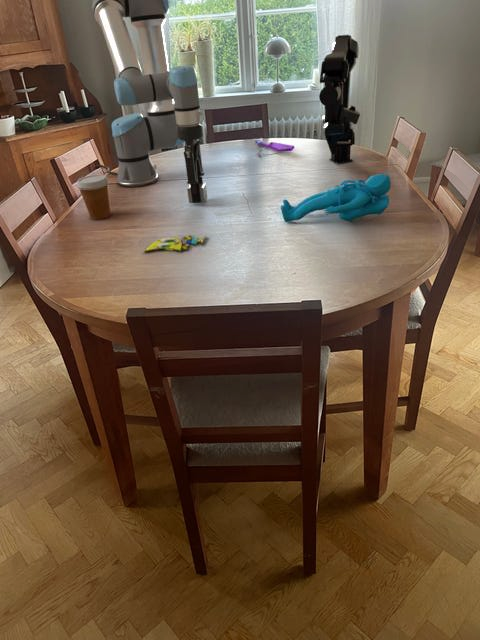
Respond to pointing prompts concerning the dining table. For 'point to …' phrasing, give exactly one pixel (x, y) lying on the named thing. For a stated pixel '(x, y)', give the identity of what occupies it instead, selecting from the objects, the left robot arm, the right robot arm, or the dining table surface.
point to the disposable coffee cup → (95, 195)
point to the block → (202, 193)
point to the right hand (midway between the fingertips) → (332, 150)
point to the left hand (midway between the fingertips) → (198, 199)
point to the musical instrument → (275, 146)
